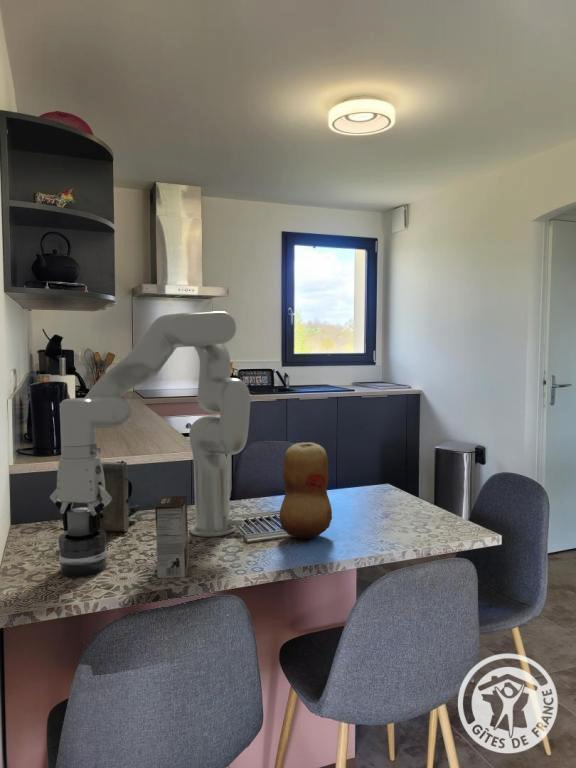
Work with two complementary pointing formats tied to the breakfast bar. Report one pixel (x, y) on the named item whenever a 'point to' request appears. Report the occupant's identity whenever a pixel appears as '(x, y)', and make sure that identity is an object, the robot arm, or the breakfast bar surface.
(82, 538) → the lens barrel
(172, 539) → the coffee box
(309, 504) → the butternut squash
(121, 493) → the vintage camera
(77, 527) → the white rounded cube
